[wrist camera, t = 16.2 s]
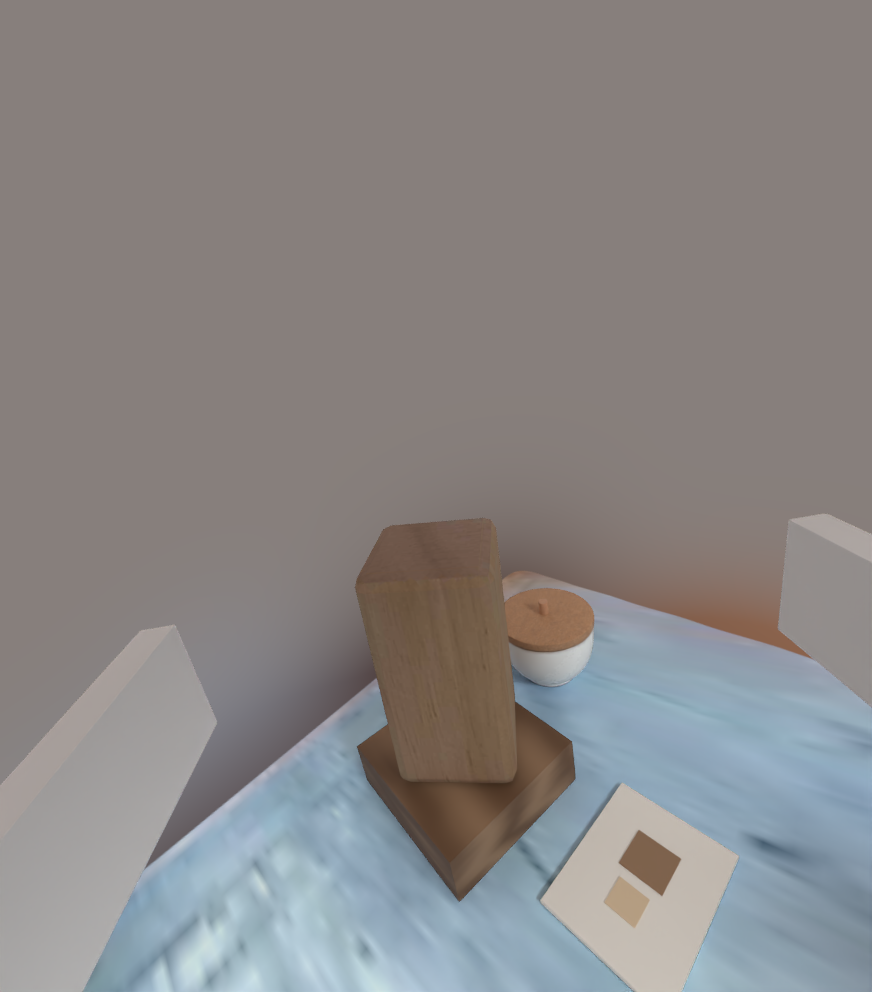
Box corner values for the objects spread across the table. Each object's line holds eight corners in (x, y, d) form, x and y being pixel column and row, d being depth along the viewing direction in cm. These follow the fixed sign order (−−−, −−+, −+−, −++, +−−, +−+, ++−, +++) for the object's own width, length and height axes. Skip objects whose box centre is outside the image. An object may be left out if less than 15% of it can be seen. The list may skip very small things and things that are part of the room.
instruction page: (622, 784, 41) (622, 781, 41) (738, 858, 34) (739, 855, 34) (540, 903, 34) (540, 899, 34) (667, 1024, 27) (668, 1020, 27)
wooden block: (398, 787, 39) (348, 582, 32) (417, 696, 49) (382, 521, 42) (518, 789, 38) (492, 573, 31) (515, 694, 47) (494, 512, 40)
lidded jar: (618, 678, 52) (614, 608, 49) (535, 717, 49) (526, 645, 46) (561, 628, 62) (555, 567, 59) (489, 658, 59) (479, 595, 56)
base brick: (473, 702, 53) (466, 667, 52) (575, 782, 42) (572, 741, 41) (368, 784, 46) (357, 746, 44) (460, 906, 35) (449, 863, 33)
